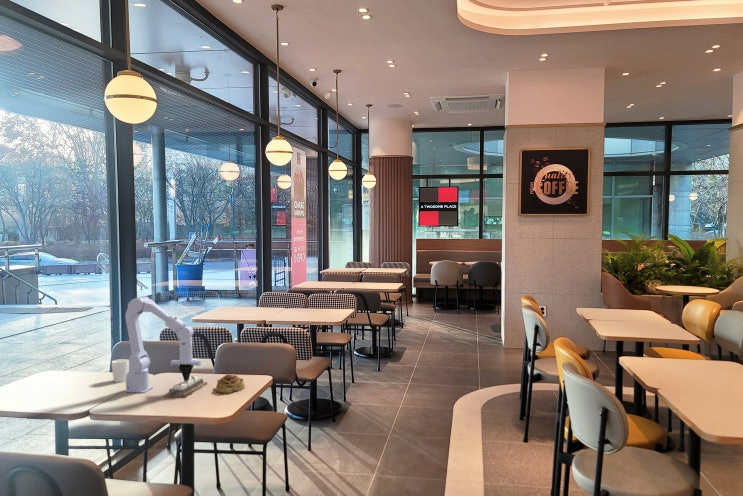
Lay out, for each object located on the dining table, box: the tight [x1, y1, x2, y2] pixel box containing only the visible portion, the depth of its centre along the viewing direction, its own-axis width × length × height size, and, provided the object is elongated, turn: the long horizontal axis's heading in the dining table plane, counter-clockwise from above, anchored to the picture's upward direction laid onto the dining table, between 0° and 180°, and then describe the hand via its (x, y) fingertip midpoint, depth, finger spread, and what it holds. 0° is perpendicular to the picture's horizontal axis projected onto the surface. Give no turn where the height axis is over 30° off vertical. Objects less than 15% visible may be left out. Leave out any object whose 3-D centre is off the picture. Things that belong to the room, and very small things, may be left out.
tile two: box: [179, 380, 194, 386], centre depth 249 cm, size 5×5×3 cm
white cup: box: [111, 358, 130, 383], centre depth 267 cm, size 8×8×10 cm
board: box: [164, 378, 208, 399], centre depth 249 cm, size 10×21×3 cm, turn 170°
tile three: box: [189, 375, 201, 383], centre depth 255 cm, size 5×5×3 cm
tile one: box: [172, 383, 187, 390], centre depth 243 cm, size 5×5×3 cm
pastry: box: [215, 373, 246, 395], centre depth 251 cm, size 13×15×8 cm
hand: (186, 380), depth 249 cm, fingers closed
